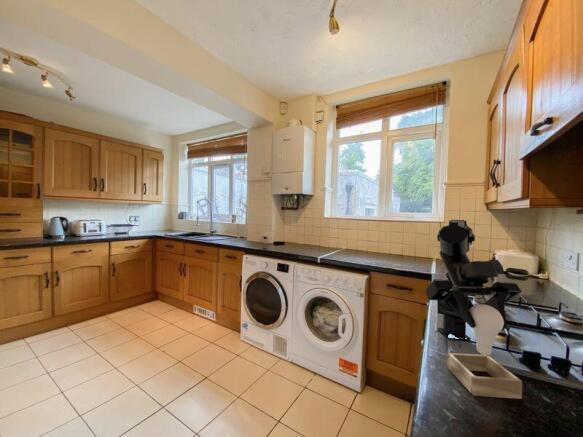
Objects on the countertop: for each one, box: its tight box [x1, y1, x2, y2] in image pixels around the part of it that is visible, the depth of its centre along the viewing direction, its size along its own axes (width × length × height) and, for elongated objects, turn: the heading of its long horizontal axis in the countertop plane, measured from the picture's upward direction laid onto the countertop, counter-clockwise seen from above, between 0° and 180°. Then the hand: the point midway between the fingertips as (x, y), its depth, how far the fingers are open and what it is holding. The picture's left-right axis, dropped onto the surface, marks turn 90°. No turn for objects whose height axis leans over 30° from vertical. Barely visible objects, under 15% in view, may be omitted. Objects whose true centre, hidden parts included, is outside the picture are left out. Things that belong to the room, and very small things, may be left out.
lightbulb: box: [470, 303, 504, 356], centre depth 53 cm, size 6×6×11 cm
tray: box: [446, 352, 523, 400], centre depth 53 cm, size 9×9×4 cm
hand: (489, 327), depth 52 cm, fingers closed on lightbulb, 6 cm apart
